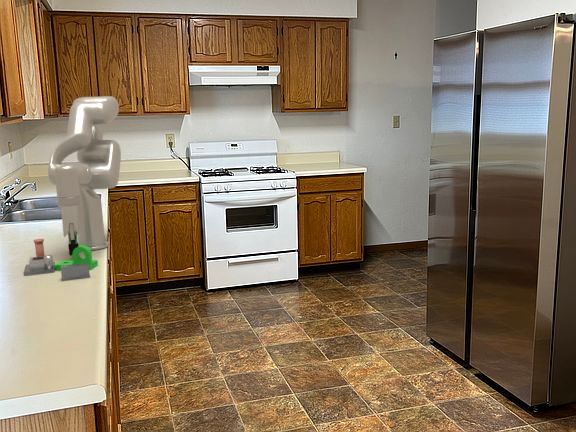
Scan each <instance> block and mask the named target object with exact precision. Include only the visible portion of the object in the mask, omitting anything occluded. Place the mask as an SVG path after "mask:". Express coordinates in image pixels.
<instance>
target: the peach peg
mask: <svg viewBox="0 0 576 432" xmlns="http://www.w3.org/2000/svg"><path fill="white" fill-rule="evenodd" d="M44 240H45V239H44V238H36V239H33V240H32V241H33V243H34V248H35V255H36V256H35V257H40V256H46V255H45V246H44Z"/></svg>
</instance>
